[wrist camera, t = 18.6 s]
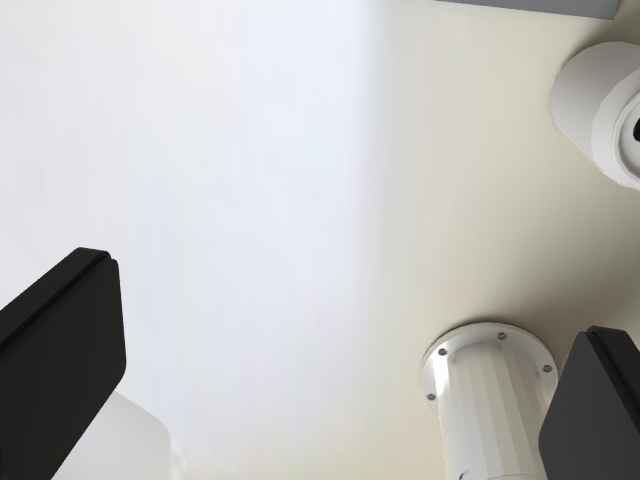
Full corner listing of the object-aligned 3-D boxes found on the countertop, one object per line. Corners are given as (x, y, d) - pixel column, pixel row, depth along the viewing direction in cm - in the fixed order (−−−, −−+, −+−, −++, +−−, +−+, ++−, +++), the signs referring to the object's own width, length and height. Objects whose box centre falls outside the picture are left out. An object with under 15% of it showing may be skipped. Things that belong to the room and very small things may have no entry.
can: (610, 15, 37) (698, 28, 26) (678, 89, 38) (788, 131, 27) (524, 97, 40) (570, 139, 29) (589, 163, 41) (657, 226, 30)
